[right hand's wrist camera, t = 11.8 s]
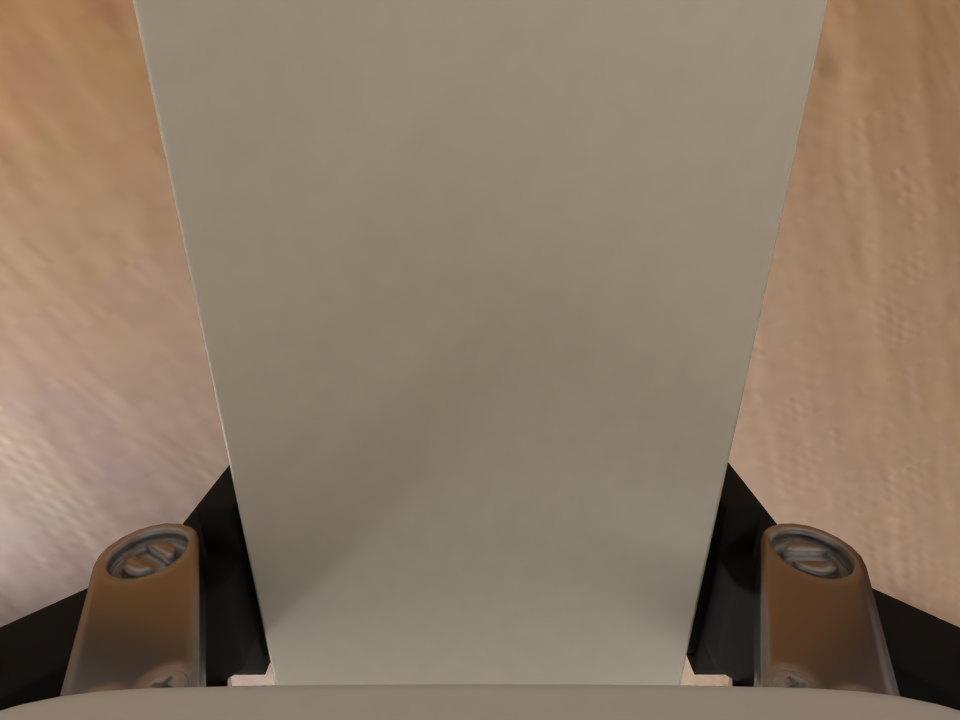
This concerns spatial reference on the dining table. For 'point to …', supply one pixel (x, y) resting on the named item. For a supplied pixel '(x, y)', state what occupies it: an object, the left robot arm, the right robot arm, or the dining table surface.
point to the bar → (479, 312)
